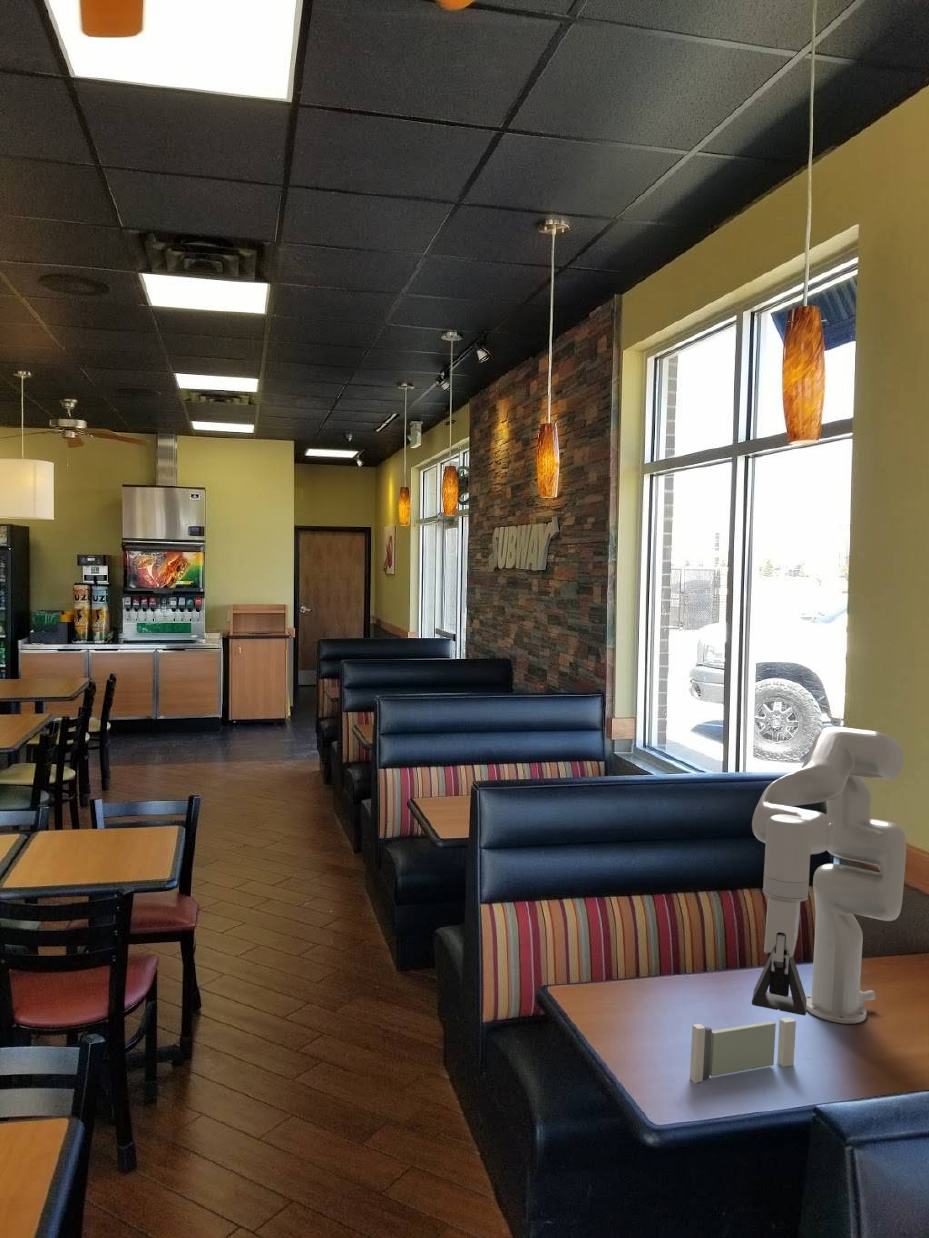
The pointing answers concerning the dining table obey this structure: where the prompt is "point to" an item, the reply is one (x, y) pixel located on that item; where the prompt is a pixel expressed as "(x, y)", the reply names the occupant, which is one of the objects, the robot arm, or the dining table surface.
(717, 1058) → the door
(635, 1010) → the dining table surface
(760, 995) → the phone stand
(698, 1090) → the dining table surface
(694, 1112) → the dining table surface
